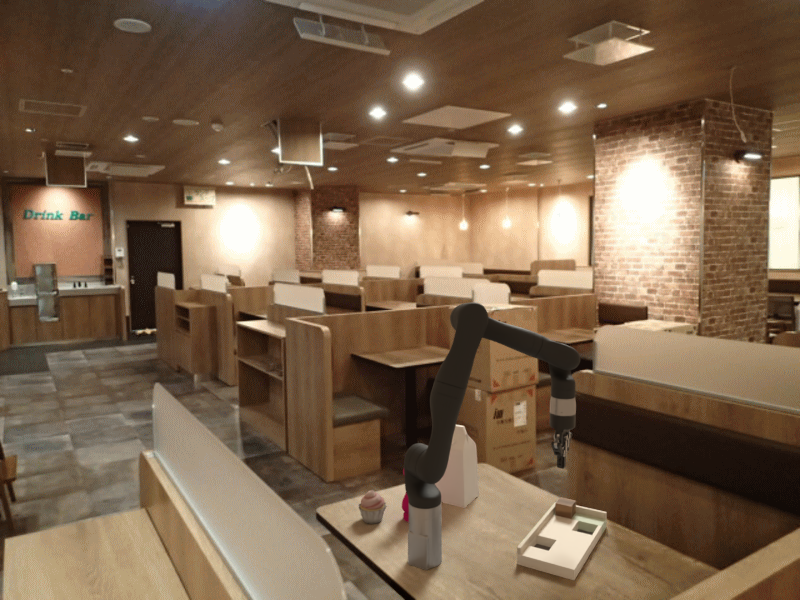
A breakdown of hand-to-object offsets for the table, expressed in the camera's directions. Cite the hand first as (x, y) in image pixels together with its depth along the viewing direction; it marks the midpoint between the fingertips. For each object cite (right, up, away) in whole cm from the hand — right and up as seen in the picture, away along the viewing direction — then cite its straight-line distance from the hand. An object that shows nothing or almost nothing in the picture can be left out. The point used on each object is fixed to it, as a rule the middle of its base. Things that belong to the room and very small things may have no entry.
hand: (561, 467), depth 187 cm
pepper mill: (-44, -21, +14) cm, 51 cm away
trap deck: (0, -22, -4) cm, 22 cm away
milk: (-29, -19, +29) cm, 45 cm away
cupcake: (-57, -21, +14) cm, 63 cm away
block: (+4, -17, +9) cm, 20 cm away
